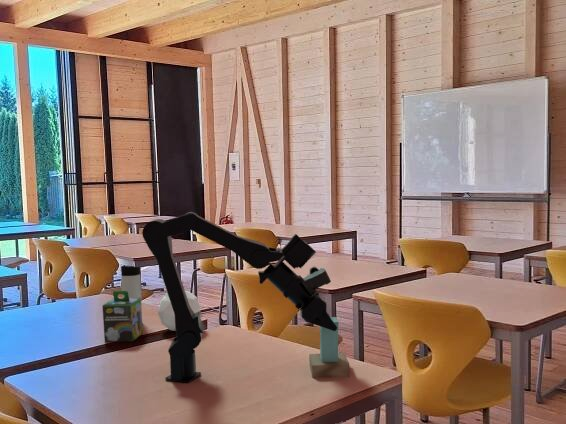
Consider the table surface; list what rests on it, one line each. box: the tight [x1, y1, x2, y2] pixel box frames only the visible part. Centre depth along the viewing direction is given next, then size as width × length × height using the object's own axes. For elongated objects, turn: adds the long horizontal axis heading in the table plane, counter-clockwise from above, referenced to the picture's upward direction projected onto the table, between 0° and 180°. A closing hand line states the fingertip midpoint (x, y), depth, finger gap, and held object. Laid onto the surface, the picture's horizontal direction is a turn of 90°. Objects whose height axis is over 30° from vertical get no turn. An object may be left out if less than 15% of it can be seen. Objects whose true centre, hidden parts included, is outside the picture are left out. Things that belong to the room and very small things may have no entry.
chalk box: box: [102, 290, 144, 343], centre depth 180 cm, size 9×9×15 cm
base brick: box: [308, 352, 351, 379], centre depth 146 cm, size 9×9×4 cm
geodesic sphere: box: [157, 289, 201, 332], centre depth 187 cm, size 14×14×14 cm
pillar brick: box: [319, 316, 339, 362], centre depth 145 cm, size 4×4×10 cm
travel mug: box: [120, 265, 143, 314], centre depth 197 cm, size 6×7×20 cm
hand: (333, 324), depth 145 cm, fingers open, 9 cm apart
